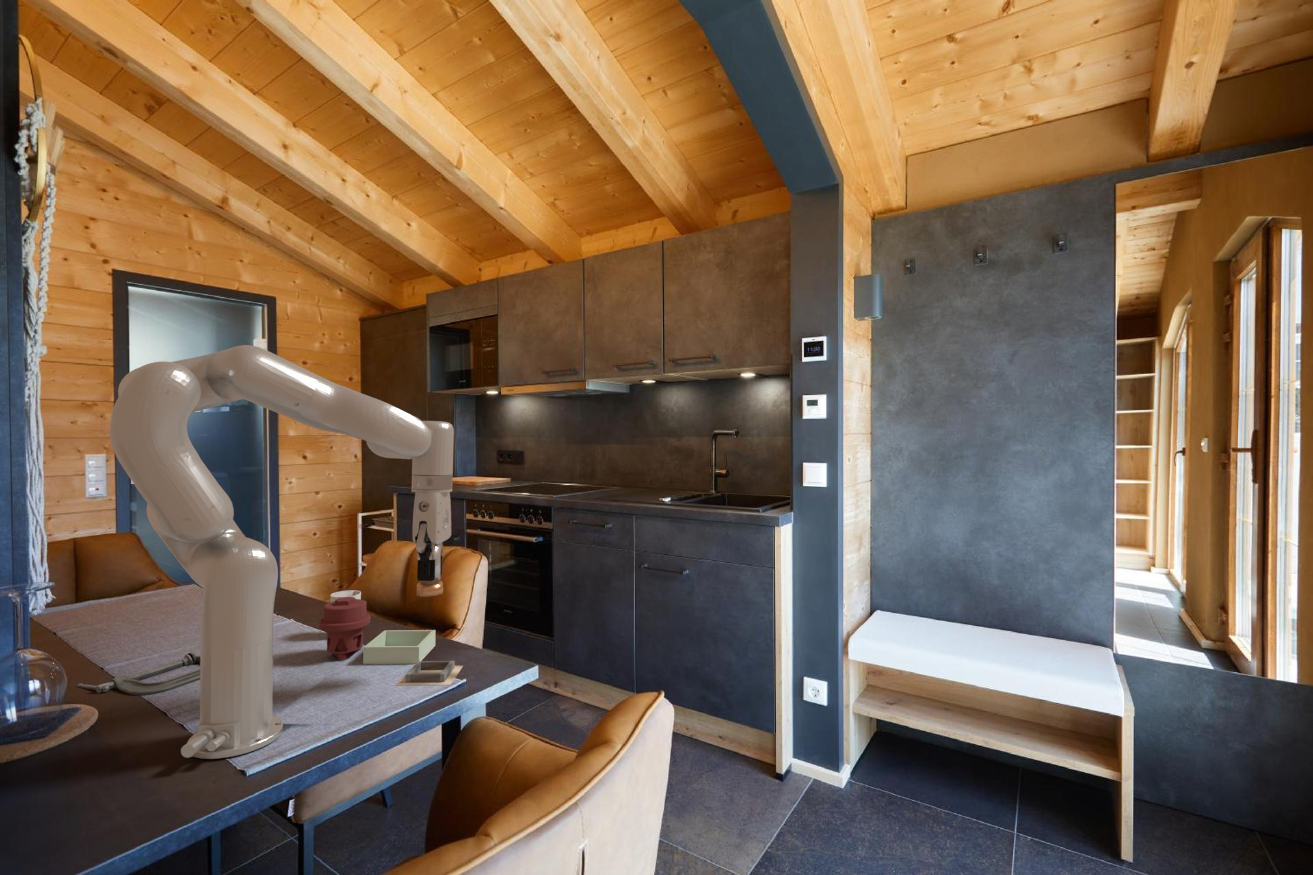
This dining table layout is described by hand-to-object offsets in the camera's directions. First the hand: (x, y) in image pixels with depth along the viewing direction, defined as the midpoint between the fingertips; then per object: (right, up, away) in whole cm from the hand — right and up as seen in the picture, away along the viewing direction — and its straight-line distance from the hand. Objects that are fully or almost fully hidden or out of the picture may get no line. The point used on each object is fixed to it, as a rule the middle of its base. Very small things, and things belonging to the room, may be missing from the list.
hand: (429, 576), depth 122 cm
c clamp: (-53, -21, +1) cm, 57 cm away
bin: (-11, -20, +12) cm, 26 cm away
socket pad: (0, -20, 0) cm, 20 cm away
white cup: (-30, -20, +28) cm, 46 cm away
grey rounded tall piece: (0, -3, 0) cm, 3 cm away
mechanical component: (-24, -20, +14) cm, 34 cm away
